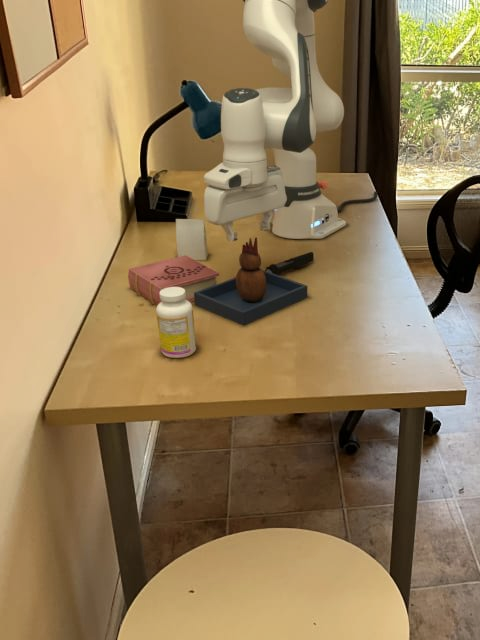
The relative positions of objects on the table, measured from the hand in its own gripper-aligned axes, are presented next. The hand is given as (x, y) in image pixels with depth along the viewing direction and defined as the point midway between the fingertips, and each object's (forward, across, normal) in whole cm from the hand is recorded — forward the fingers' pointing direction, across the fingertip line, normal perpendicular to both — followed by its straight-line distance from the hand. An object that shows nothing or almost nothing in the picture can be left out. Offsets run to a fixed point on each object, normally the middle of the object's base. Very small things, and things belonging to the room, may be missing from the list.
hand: (248, 235), depth 162 cm
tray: (+16, 0, 0) cm, 16 cm away
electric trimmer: (+16, -19, -7) cm, 26 cm away
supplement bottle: (+16, +26, +7) cm, 31 cm away
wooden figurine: (+15, 0, 0) cm, 15 cm away
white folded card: (+16, -9, -31) cm, 36 cm away
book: (+16, +8, -17) cm, 25 cm away
